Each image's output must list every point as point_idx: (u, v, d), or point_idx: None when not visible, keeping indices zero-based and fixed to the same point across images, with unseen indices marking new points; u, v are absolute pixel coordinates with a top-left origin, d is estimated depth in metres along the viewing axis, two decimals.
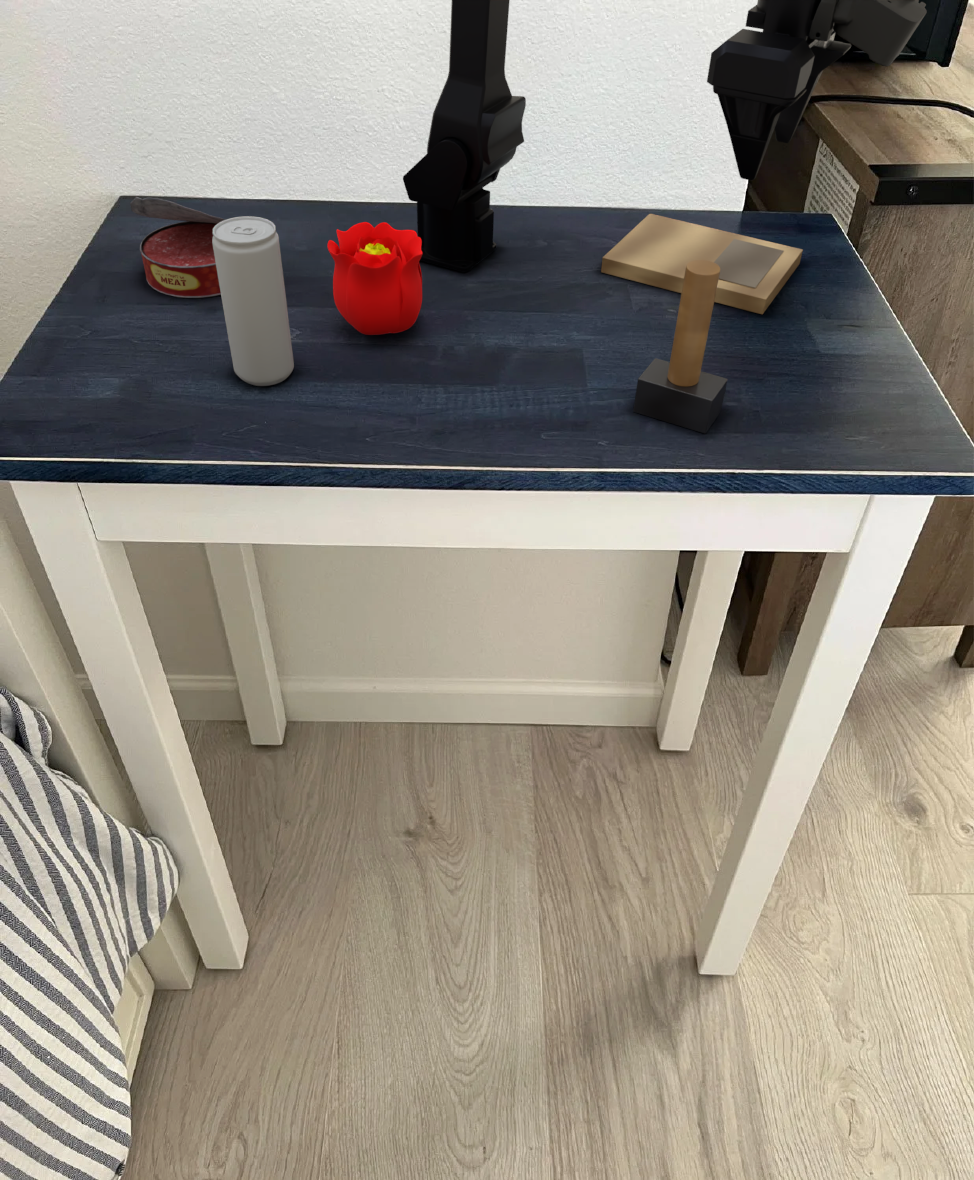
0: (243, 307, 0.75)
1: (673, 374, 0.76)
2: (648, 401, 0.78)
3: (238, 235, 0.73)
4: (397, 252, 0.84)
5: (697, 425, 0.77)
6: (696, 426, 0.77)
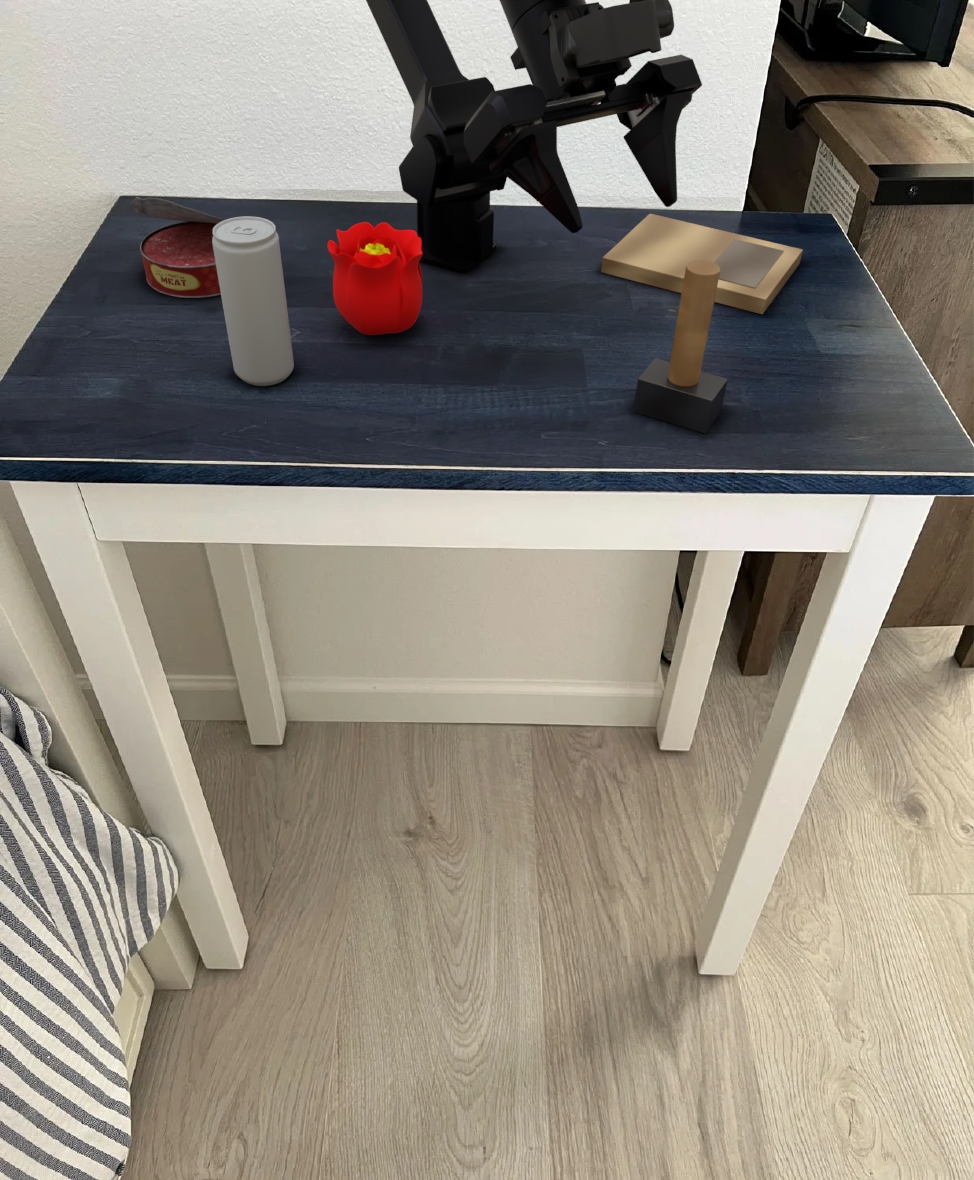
0: (243, 307, 0.75)
1: (673, 374, 0.76)
2: (648, 401, 0.78)
3: (238, 235, 0.73)
4: (397, 252, 0.84)
5: (697, 425, 0.77)
6: (696, 426, 0.77)
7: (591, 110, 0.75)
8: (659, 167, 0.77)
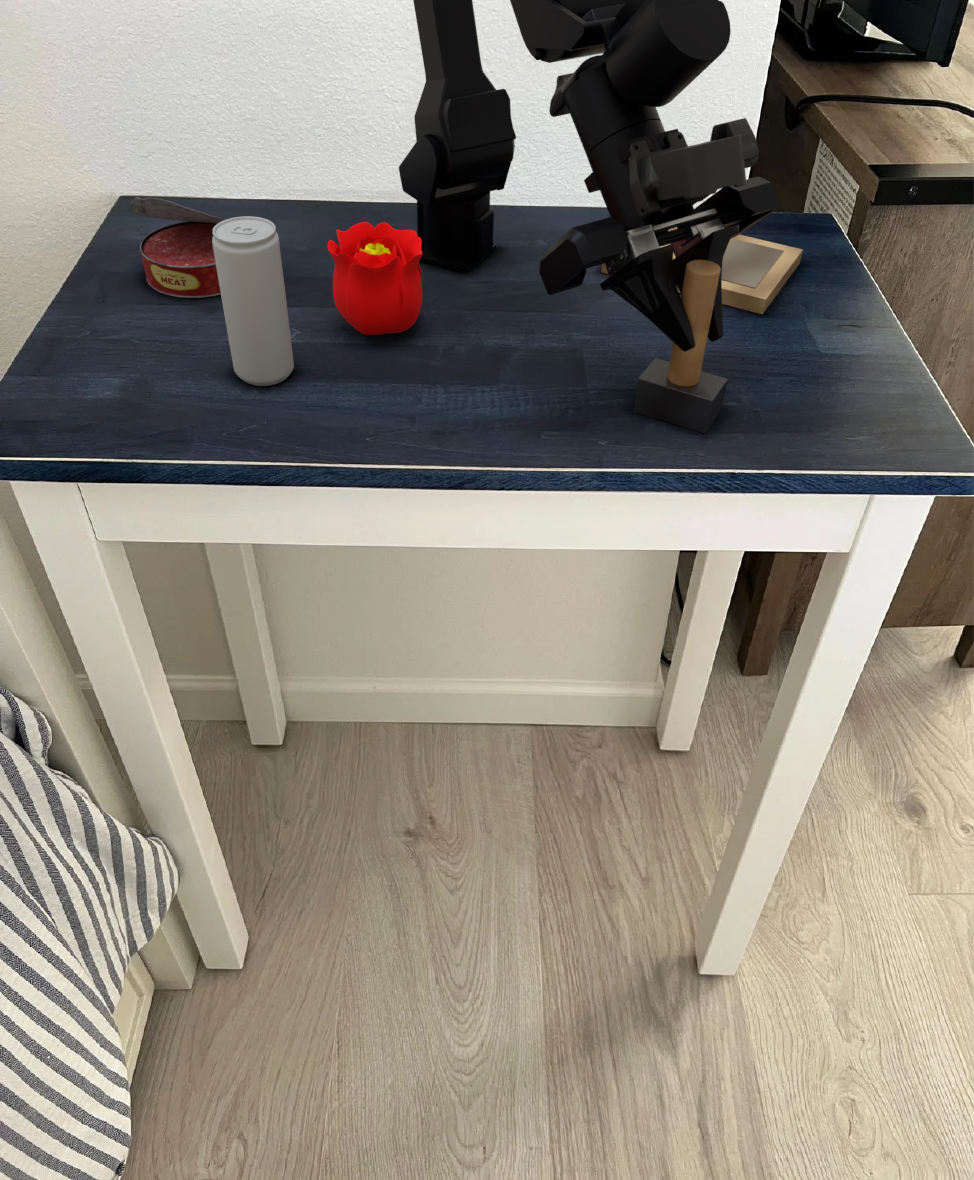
0: (243, 307, 0.75)
1: (673, 374, 0.76)
2: (648, 401, 0.78)
3: (238, 235, 0.73)
4: (397, 252, 0.84)
5: (697, 425, 0.77)
6: (696, 426, 0.77)
7: None
8: None
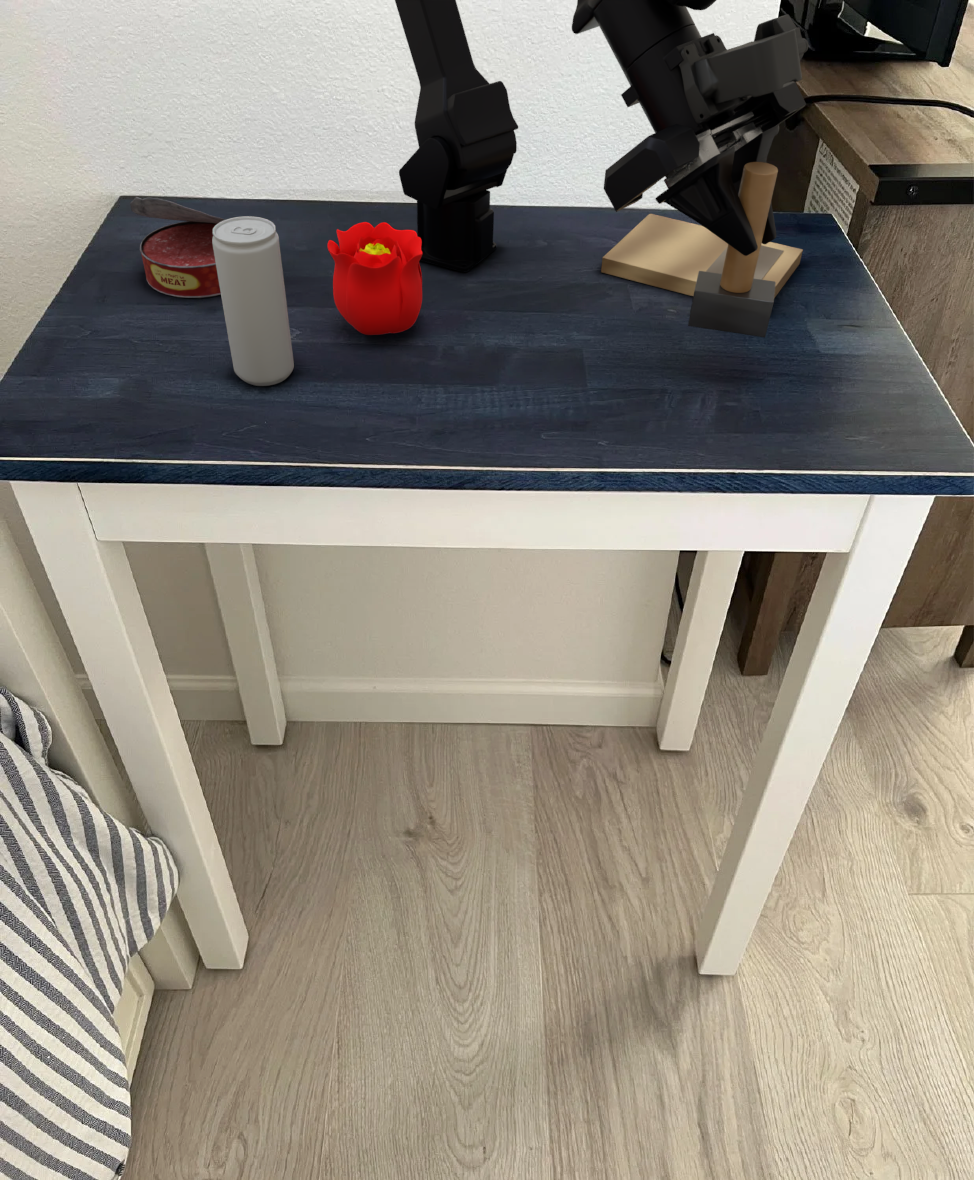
0: (243, 307, 0.75)
1: (730, 282, 0.77)
2: (704, 313, 0.78)
3: (238, 235, 0.73)
4: (397, 252, 0.84)
5: (757, 330, 0.78)
6: (755, 331, 0.78)
7: None
8: None
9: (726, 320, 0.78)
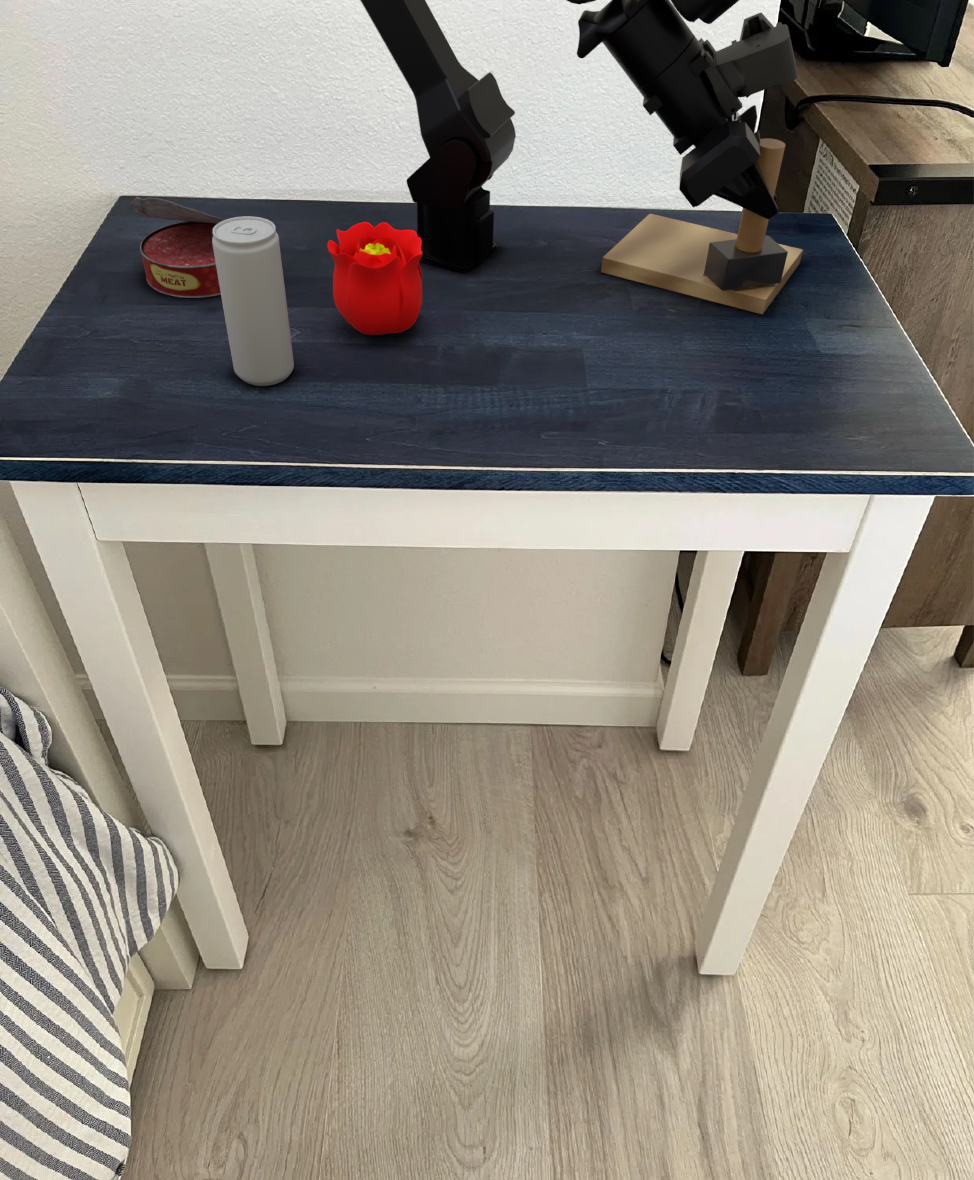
0: (243, 307, 0.75)
1: (751, 244, 0.89)
2: (735, 276, 0.90)
3: (238, 235, 0.73)
4: (397, 252, 0.84)
5: (775, 278, 0.91)
6: (774, 280, 0.91)
7: None
8: None
9: (752, 277, 0.90)
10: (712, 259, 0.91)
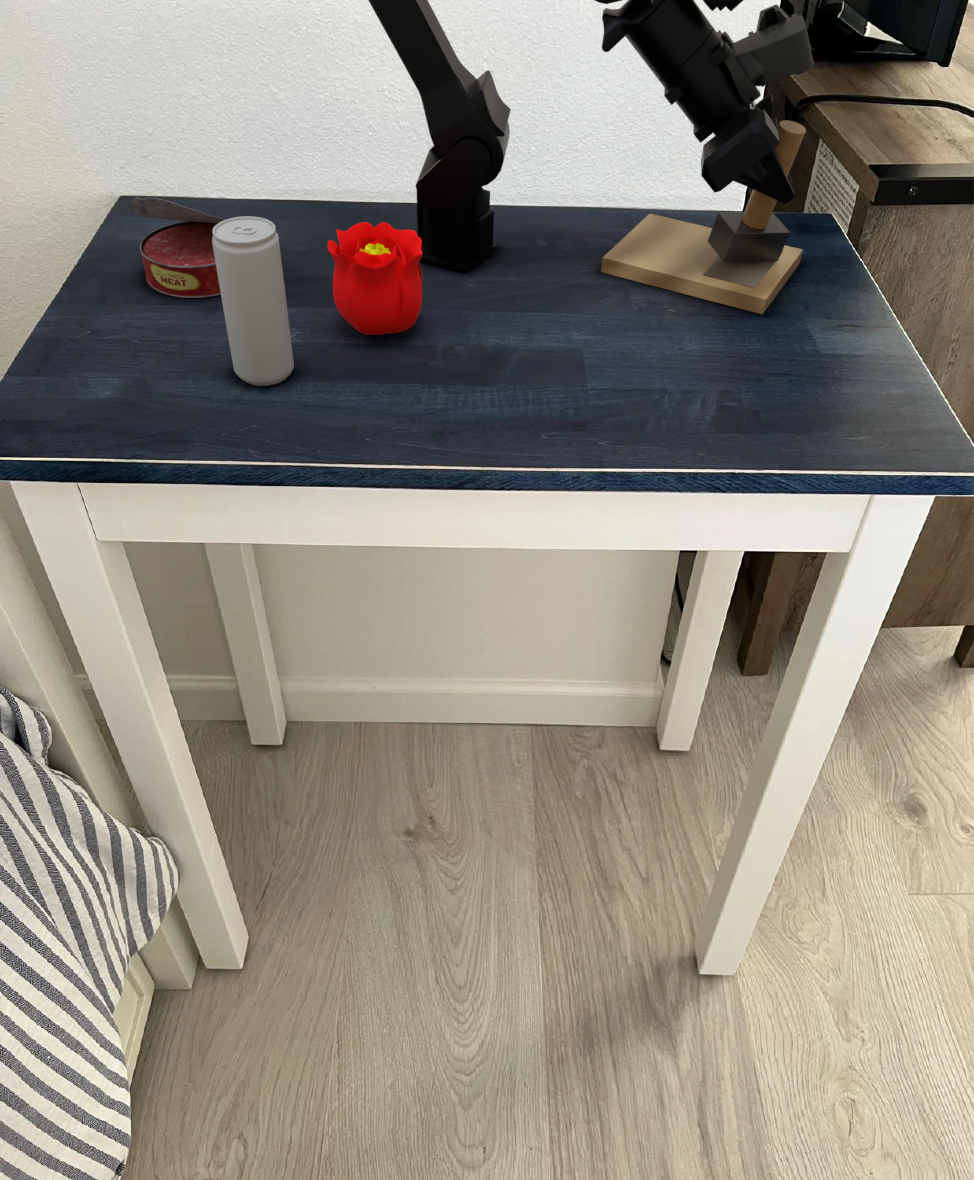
0: (243, 307, 0.75)
1: (758, 221, 0.92)
2: (739, 250, 0.93)
3: (238, 235, 0.73)
4: (397, 252, 0.84)
5: (773, 256, 0.95)
6: (772, 257, 0.95)
7: None
8: None
9: (753, 252, 0.94)
10: (718, 229, 0.94)
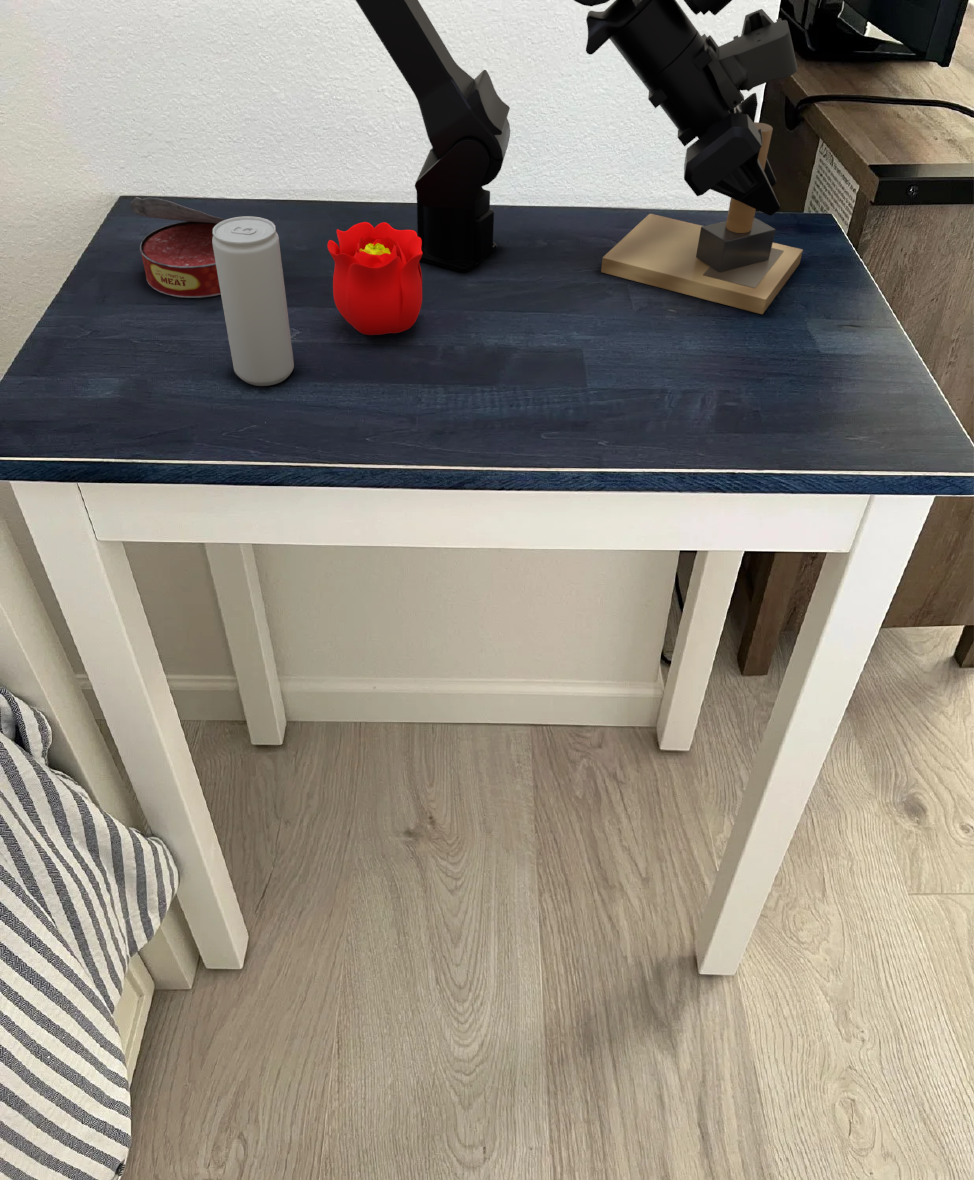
0: (243, 307, 0.75)
1: (743, 225, 0.92)
2: (731, 257, 0.93)
3: (238, 235, 0.73)
4: (397, 252, 0.84)
5: (764, 256, 0.95)
6: (763, 257, 0.95)
7: None
8: None
9: (745, 256, 0.94)
10: (705, 243, 0.94)
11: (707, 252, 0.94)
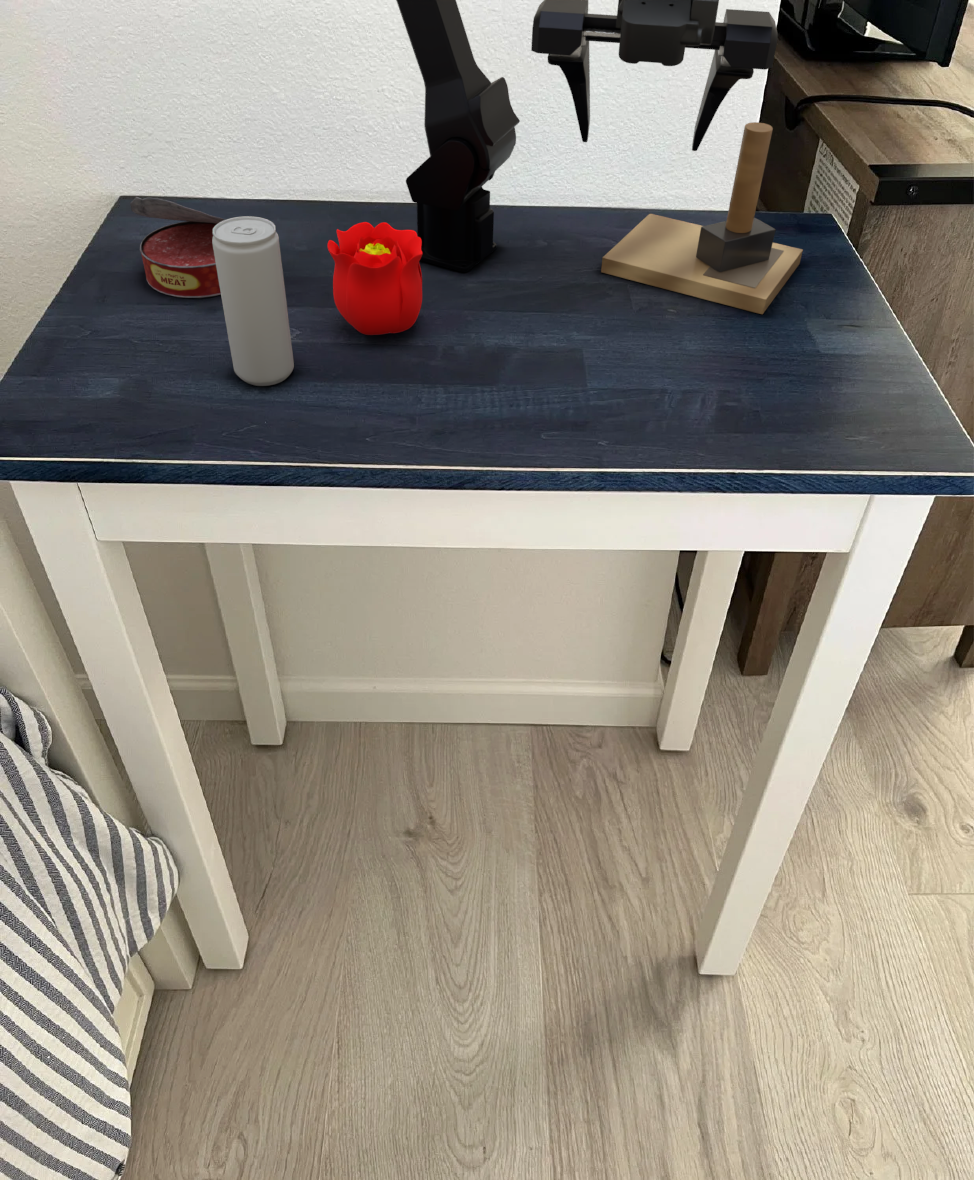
0: (243, 307, 0.75)
1: (743, 225, 0.92)
2: (731, 257, 0.93)
3: (238, 235, 0.73)
4: (397, 252, 0.84)
5: (764, 256, 0.95)
6: (763, 257, 0.95)
7: None
8: (699, 114, 0.83)
9: (745, 256, 0.94)
10: (705, 243, 0.94)
11: (707, 252, 0.94)
